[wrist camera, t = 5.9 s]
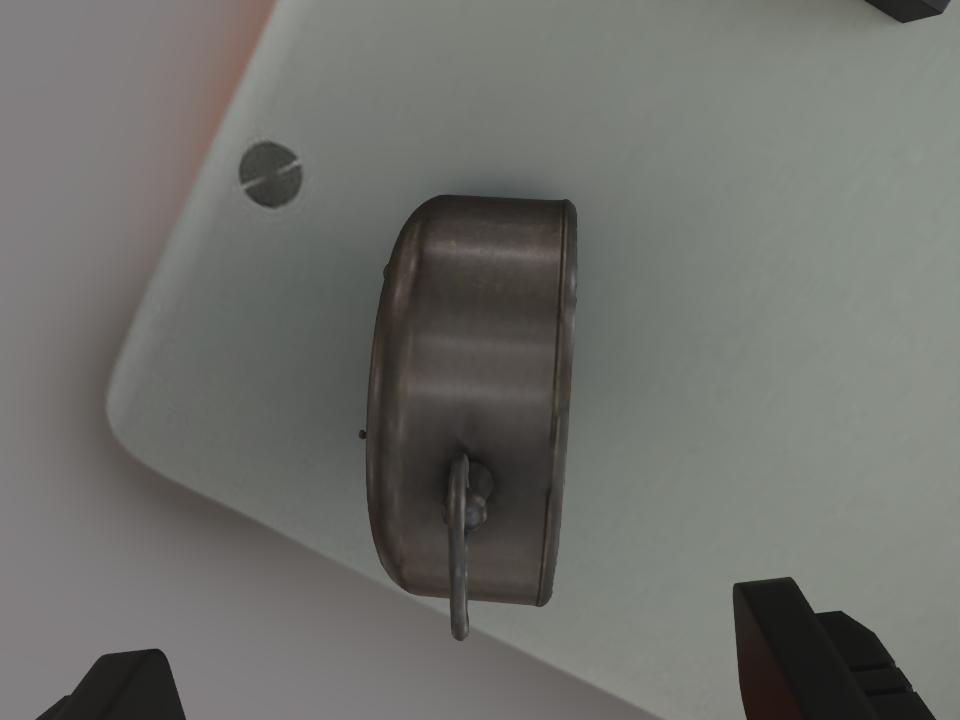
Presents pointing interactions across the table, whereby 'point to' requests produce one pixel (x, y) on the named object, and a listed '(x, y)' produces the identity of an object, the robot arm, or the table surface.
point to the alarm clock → (473, 400)
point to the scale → (910, 8)
